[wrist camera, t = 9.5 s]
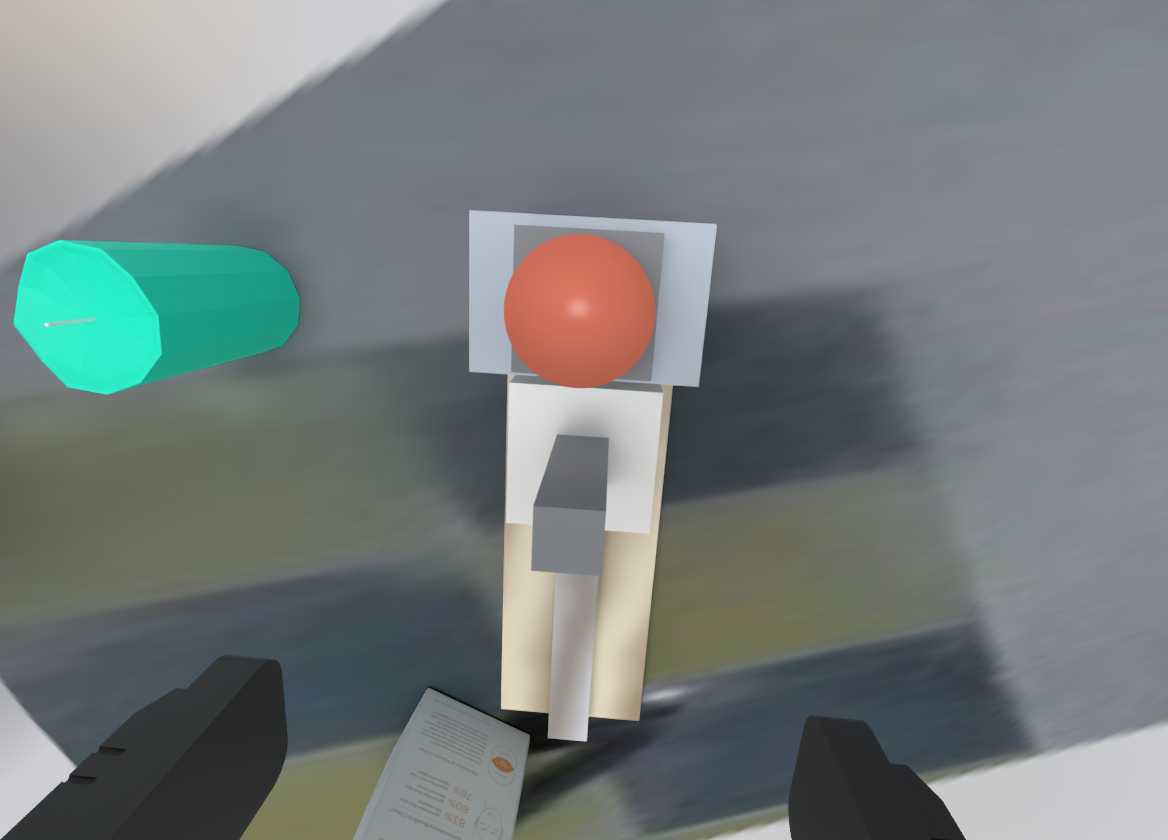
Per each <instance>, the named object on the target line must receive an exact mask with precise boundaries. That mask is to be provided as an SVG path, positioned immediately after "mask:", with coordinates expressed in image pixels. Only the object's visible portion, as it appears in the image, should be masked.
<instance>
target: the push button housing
mask: <svg viewBox="0 0 1168 840" xmlns="http://www.w3.org/2000/svg"><path fill="white" fill-rule="evenodd" d="M716 229H717V224H706V223H688V222H670V221H652V220H634V219H616V218H598V217H581V216H563V215H545V214H527V213H509V212H491V211H473V210H469V372H481V373H496V374H511V375H527V376H538V375H537V374H536V373H534V372H533V371H531V370H530V369H529V368H528V367H527V366H526V365H525V364H524V363H523V361H522V360H521V359H520V358H519V356H518V355H517V353H516V352H515V350H514V349H513V347H512V344H511V342H510V340H509V338H508V334H507V331H506V327H505V321H504V300H505V295H506V290H507V287H508V284H509V281H510V279H511V277H512V275H513V273H514V271H515V270H516V268H517V267H518V265H519V264H520V263H521V261H522V260H523V259H524V258H525V257H526V256H527V255H528V254H529V253H530V252H532V251H533V250H534V249H535V248H537V247H538V246H540V245H542V244H543V243H545V242H547V241H549V240H552V239H554V238H558V237H561V236H566V235H573V234H585V235H593V236H597V237H601V238H604V239H606V240H609V241H611V242H613V243H615V244H617V245H618V246H620V247H622V248H623V249H624V250H626V251H627V252H628V253H629V254H630V255H631V256H632V257H633V258H634V259H635V260H636V261H637V262H638V263H639V265H640V266H641V267H642V269H643V270H644V272H645V274H646V276H647V278H648V280H649V282H650V285H651V287H652V291H653V295H654V300H655V323H654V329H653V333H652V336H651V339H650V341H649V344H648V346H647V348H646V350H645V351H644V353H643V355H642V356H641V357H640V359H639V360H638V361H637V363H636V364H635V365H634V366H633V367H632V368H631V369H630V370H629V371H627V372H626V373H625V374H623V375H622V376H620V377H619V378H617V379H615V380H613V381H618V382H633V383H648V384H663V385H678V386H693V387H699V379H700V370H701V361H702V352H703V343H704V335H705V326H706V317H707V308H708V299H709V291H710V282H711V273H712V264H713V255H714V246H715V238H716Z"/></svg>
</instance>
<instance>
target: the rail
mask: <svg viewBox="0 0 1168 840" xmlns="http://www.w3.org/2000/svg"><path fill="white" fill-rule="evenodd" d="M514 376H515V375H511V374H508V380H507V431H506V481H505V532H504V583H503V634H502V684H501V709H509V710H520V711H532V712H543V713H549V724H548V738H554V739H565V740H576V741H587V730H588V716H589V717H601V718H612V719H624V720H635V721H639V716H640V707H641V697H642V687H643V677H644V667H645V657H646V647H647V637H648V627H649V617H650V607H651V597H652V588H653V578H654V568H655V558H656V548H657V538H658V528H659V518H660V508H661V498H662V488H663V479H664V469H665V459H666V449H667V439H668V429H669V419H670V409H671V399H672V389H673V385H663V384H660V385H661V388H662V390H663V402H662V412H661V422H660V433H659V443H658V453H657V464H656V474H655V485H654V495H653V505H652V516H651V526H650V534H646V533H633V532H620V531H607V530H605V533H604V547H603V561H602V575H601V576H592V575H579V574H566V573H553V572H541V571H531V559H532V530H533V525H527V524H514V523H506V503H507V454H508V405H509V382H510V381H511V380H512V378H513V377H514Z"/></svg>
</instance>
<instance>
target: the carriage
mask: <svg viewBox="0 0 1168 840" xmlns="http://www.w3.org/2000/svg"><path fill="white" fill-rule="evenodd" d="M662 402H663V390H662V388H661V385H660V384H648V383H633V382H618V381H611V382H609V383H606V384H604V385H600V386H596V387H590V388H570V387H564V386H560V385H557V384H554V383H552V382H549V381H547V380H545V379H543V378H542V377H540V376H527V375H515V376H514V377H513V378H512V380H511V381H510V382H509V405H508V454H507V503H506V523H514V524H527V525H533V530H532V559H531V571H541V572H553V573H566V574H579V575H592V576H601V575H602V561H603V547H604V533H605V530H607V531H620V532H633V533H646V534H650V526H651V516H652V505H653V495H654V485H655V474H656V464H657V453H658V443H659V433H660V422H661V412H662Z"/></svg>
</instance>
